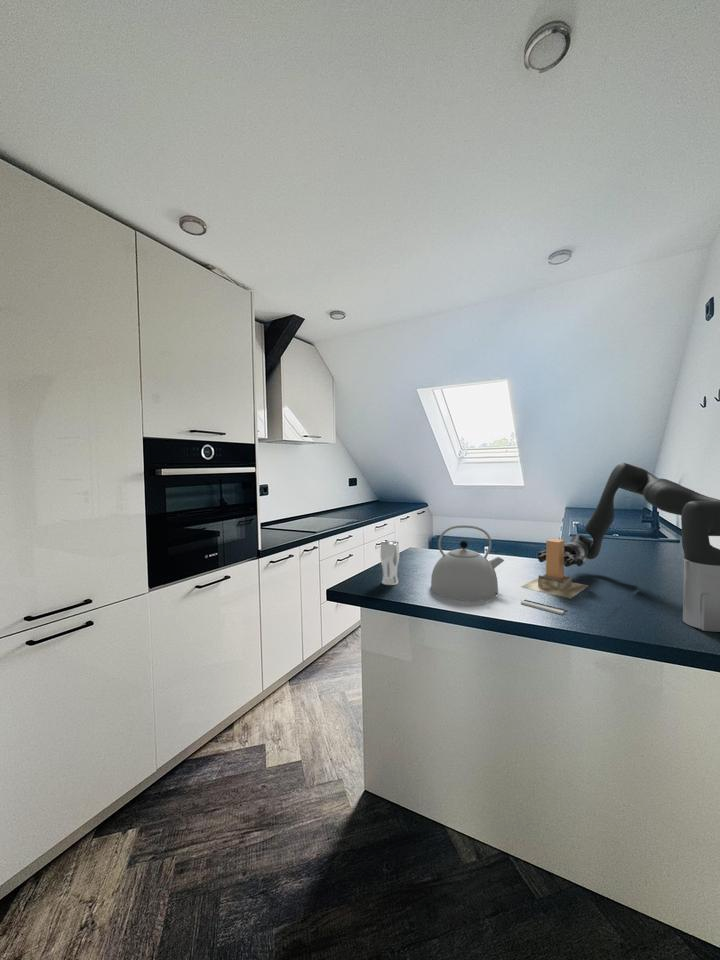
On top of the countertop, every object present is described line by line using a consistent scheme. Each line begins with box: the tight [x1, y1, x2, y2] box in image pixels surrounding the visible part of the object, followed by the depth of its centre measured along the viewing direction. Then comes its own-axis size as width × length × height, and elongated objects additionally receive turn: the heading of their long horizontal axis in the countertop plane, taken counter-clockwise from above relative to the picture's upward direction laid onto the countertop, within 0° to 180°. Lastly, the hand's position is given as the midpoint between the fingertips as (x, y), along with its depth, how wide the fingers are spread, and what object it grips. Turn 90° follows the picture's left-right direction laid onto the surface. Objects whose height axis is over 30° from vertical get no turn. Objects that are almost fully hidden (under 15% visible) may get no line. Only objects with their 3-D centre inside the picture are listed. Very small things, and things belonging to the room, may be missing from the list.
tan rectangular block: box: [545, 538, 565, 580], centre depth 132 cm, size 4×5×16 cm
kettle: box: [430, 524, 505, 602], centre depth 134 cm, size 25×23×22 cm
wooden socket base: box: [520, 573, 590, 599], centre depth 133 cm, size 16×18×5 cm
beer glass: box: [379, 540, 400, 586], centre depth 142 cm, size 7×7×15 cm
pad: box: [520, 599, 568, 616], centre depth 119 cm, size 12×12×1 cm
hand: (553, 561), depth 131 cm, fingers open, 8 cm apart
